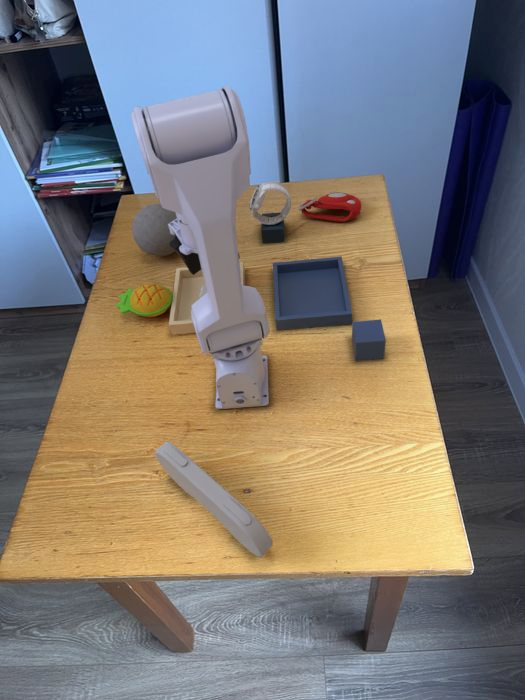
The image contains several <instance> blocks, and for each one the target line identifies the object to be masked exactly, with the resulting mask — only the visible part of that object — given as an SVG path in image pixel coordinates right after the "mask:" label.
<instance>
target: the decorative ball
mask: <svg viewBox="0 0 525 700" xmlns="http://www.w3.org/2000/svg"><path fill="white" fill-rule="evenodd" d="M175 219H177V216H176V213H175V212H173V211H170V210H167V209H164V208H162V205H161V203H152V204H148V205H146V206H144V207H142V208H141V209H140V210H139V211H138V212H137V214H135V216H134V218H133V222H132V227H131V230H132V231H131V232H132V237H133V239H134V241H135V243H136V245H137V246H138V248H140V250H142V251H143V252H144V253H146V254H147V255H150V256H152V257H167V256H170V255H172V254H173V253H175V252H176V251H175V250H174V249H173V248H171V247H170V245H169V243H170V241H172V240H173V239H175V235H172V234H171V233H170V230H169V226H168V224H169V223H171V222H172V221H174V220H175Z"/></svg>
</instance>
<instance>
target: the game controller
mask: <svg viewBox="0 0 525 700" xmlns="http://www.w3.org/2000/svg"><path fill="white" fill-rule="evenodd" d="M154 456H155V458H156V460H157V461H158V463H159V464H160V466H161V467H162V469H164V471H165V472H166V473H167V474H168V476H169V477H170V478H171V479H172V480H173V481H174V482H175V483H176V484H177V485H178V487H180V489H182V490H183V491H184V492H186V493H187V494H188V495H189V496H191V497H192V498H193V499H194V500H196V501H197V503H198V504H200V505H201V506H202V507H203V509H205V510H206V511H207V512H208V513H209V514H211V515H212V517H214V518H215V519H216V520H217V521H218V522H219V523H220V524H221V525H222V526H223V527H224V528H225V529H226V530H227V532H229V533H230V535H232V536H233V538H234V539H235V540H237V541H238V543H240V544H241V546H243V547H244V548H245V549H246V550H247V551H248V552H250V553H251V554H252V555H254V556H256V557H258V558H263V557H264V556H265V555H266V553H267V552H268V551H269V550H270V549H271V548H272V547H273V545H274V542H273V539H272V536H271V535H270V533H269V532H268V530H267V529H266V527H265V526H264V525H263V524H262V523H261V522H260V520H259V519H258V518H257V517H256V516H255V515H254V514H253V513H252V512H251V511H250V510H249V509H248V508H247V507H246V506H245V505H244V504H242V503H241V501H239V500H238V499H237V498H235V496H233V494H231V493H230V492H229V491H228V490H226V488H224V487H223V486H222V485H221V484H220V483H218V482H217V481H216V480H215V479H214V478H213V477H212V476H211V475H210V474H209V473H207V472H206V471H205V470H204V469H203V468H201V466H199V464H197V463H196V462H195V461H194V460H193V459H191V458H190V457H189V456H188V455H187V454H186V453H185V452H183V451H182V450H181V449H180V448H179V447H178V446H176V445H175V444H174V443H172V442H171V441H165V442H164V443H162V445H160V446H159V447H158V448H157V449H156V450H155V451H154Z"/></svg>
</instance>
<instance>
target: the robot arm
mask: <svg viewBox="0 0 525 700" xmlns="http://www.w3.org/2000/svg"><path fill="white" fill-rule="evenodd" d="M130 118H131V122H132V125H133V129H134V132H135V136H136V139H137V143H138V145H139V150H140V153H141V156H142V159H143V162H144V166H145V169H146V173H147V174H148V175H149V178H150V181H151V185H152V187H153V191H154V194H155V197H156V198H157V199H159V201H160V204H161V205H162V208H164V209H167V210H170V211H173V212H175V213H176V216H177V219H175V220H174V221H172V222H171V223H169V224H168V226H169V230H170V233H171V234H172V235H175V239H173V240H172V241H170V243H169V245H170V247H171V248H173V249H174V250H175V252H176V254H177V255H178V256H179V257H180V258H181V260H182V261H183V263H184V264H185V267H187V268H188V270H189V271H190V272H191V274H193V275H194V274H196V273H197V272H198V271H200V270H201V269H202V273H203V277H204V281H205V286H206V290H207V293H206V294H205V295H204V296H202V297H201V298H200V299H199V300H197V301H196V302H195V303H194V304H193V305H192V310H191V314H192V316H191V317H192V320H193V324H194V327H195V331H196V333H195V334H196V338H197V341H198V344H199V348H200V352H201V353H202V354H204V355H206V356H210V355H211V358H212V360H213V363H214V367H215V387H216V389H215V405H214V406H215V408H216V410H226V409H239V408H240V409H241V408H253V407H266V406H268V405H269V403H270V401H269V400H270V399H269V397H270V396H269V371H268V370H269V369H268V365H269V364H268V356H267V355H264V354H262V348H261V347H262V346H263V345H264V343H263V339H267V338H268V336H269V335H270V331H271V330H270V323H269V319H268V315H267V310H266V307H265V303H264V300H263V298H262V296H261V293H260V292H259V291H258V289H257V288H256V287H254V286H249V285H245V286H244V285H242V282H241V273H240V264H239V262H240V259H241V257H240V253H239V248H238V240H237V239H238V237H237V229H236V227H237V225H236V224H237V203H238V202H237V201H238V199H239V198H241V197H242V195H243V194H244V193H245V192H246V191H247V190H248V189H249V187H250V186H251V183H250V182H251V180H250V179H251V178H250V175H252V167H251V153H250V141H249V140H250V139H249V134H248V129H247V127H248V126H247V122H246V117H245V113H244V109H243V106H242V104H241V100H240V97H239V95H238V94H237V92H236V91H235V90H233V89H232V88H231V87H230V86H229V85H224V86H222V87H221V88H220V89H217V90H212V91H209V92H203V93H199V94H193V95H190V96H186V97H181V98H178V99H173V100H169V101H164V102H161V103H155V104H152V105H148V106H144V107H142V109H141V106H135V107H134V108H133V111H132V113H131V115H130Z"/></svg>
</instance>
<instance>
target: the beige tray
mask: <svg viewBox="0 0 525 700" xmlns="http://www.w3.org/2000/svg"><path fill="white" fill-rule="evenodd" d="M239 264H240V273H241V282H242V285H244V286H246V269H245V263H244V261H239ZM174 276H175V277H174V283H173V291H172V296H173V298H172V302H171V304H170V312H169V320H168V327H169V330H170V332H171V335H173V336H174V335H186V334H196V331H195V327H194V324H193V320H192V317H191V316H192V314H191V310H192V305H193V304H194V303H195V302H196V301H197V300H199V299H200V297H199V295H200V291H201V288H202V286H203V285H205V281H204V277H203V273H202V269H201V270H200V271H198V272H197V273H196V274H194V275H193V274H191V272H190V271H189V270H188V268H187V266H185V267H176V269H175V275H174Z"/></svg>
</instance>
